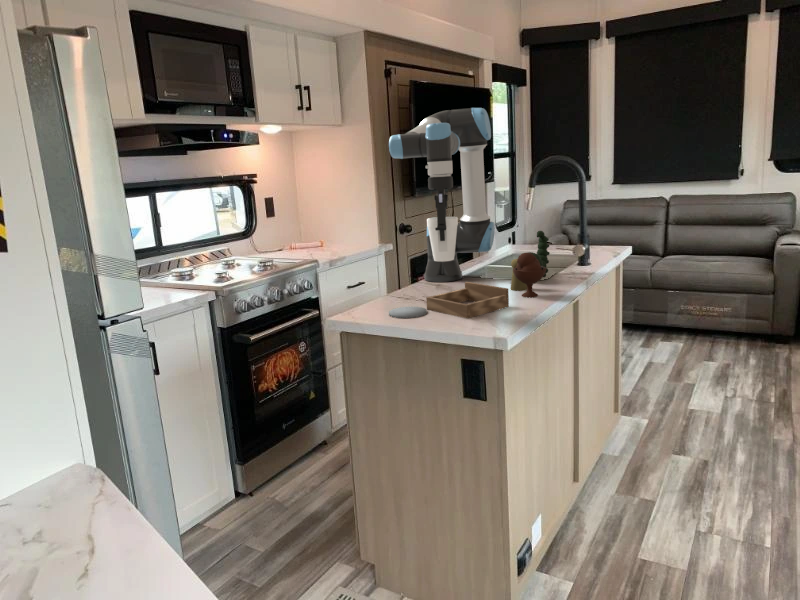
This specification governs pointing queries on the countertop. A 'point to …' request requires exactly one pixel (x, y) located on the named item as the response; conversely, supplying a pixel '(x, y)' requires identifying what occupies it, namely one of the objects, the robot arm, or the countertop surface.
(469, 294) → the frame
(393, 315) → the rubber mat
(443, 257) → the foam cup
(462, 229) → the robot arm
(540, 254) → the toy figurine
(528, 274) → the ice cream bowl
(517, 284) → the cork
